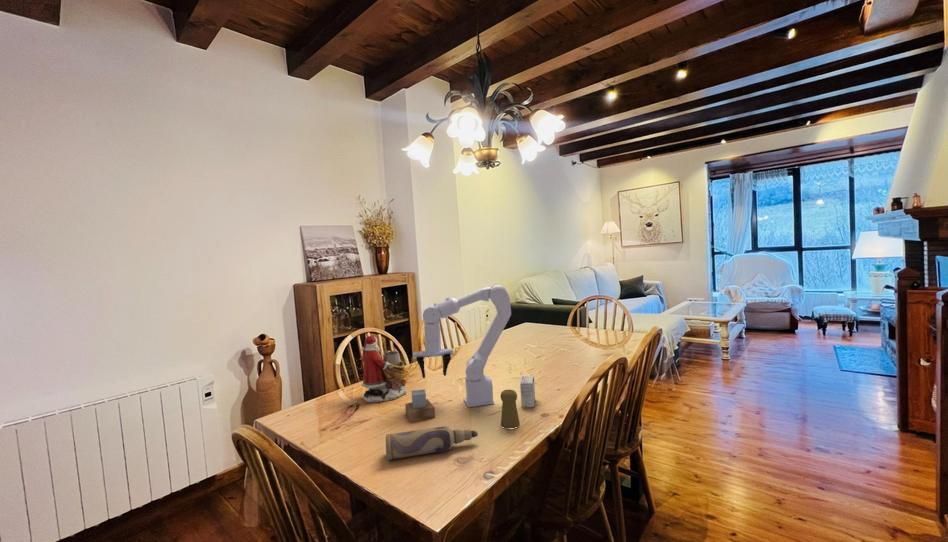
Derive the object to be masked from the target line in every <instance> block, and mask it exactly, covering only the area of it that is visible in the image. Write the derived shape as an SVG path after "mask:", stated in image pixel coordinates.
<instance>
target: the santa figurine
mask: <svg viewBox="0 0 948 542" xmlns="http://www.w3.org/2000/svg"><path fill="white" fill-rule="evenodd" d="M360 350H361V351H362V352H361V361H362V363H363V379H362V381H363V382H362V383H361V386H362V387H363V388H366V389H367V390H366V391H364V393H363V396H362V398H363V400H364V402H365V401H366V402H365V403H368V404H371V403H372V404H374V403H383V402H382V401H385V402H389V401H388V400H390V401H393V400H392V399H394V400H396V399H398V398H400V397H402V396H405V395H406V394H407V388H406V387H405V386H406V383H403V382H401V376H402V374H403V372H404V371H403V369H404V368H405V367H406V366H405V363H404V362H403V361H402V359H401V358H400V353H399V351H398V350H393V351H386V352H384V353H383V354H382V356H381V354H380V350H381V347H379V345H378V338H377V336H374V335H370V336H367V337H366V338H365V340H364V344H363V346H361V348H360ZM397 397H398V398H397Z"/></svg>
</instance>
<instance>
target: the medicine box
mask: <svg viewBox="0 0 948 542" xmlns="http://www.w3.org/2000/svg"><path fill="white" fill-rule="evenodd" d="M519 385H520V388H519V389H520V402H521V403H520V405H521V407H522V406H527V407H526V408H532V407H534V408H535V404H536V403H535V402H536V392H535V390H536V389H535V387H536V386H535V377H534V376H530V375H526V376H522V377H521V380H520V384H519ZM530 406H531V407H530Z"/></svg>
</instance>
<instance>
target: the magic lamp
mask: <svg viewBox="0 0 948 542" xmlns="http://www.w3.org/2000/svg"><path fill="white" fill-rule="evenodd" d="M410 359H411V362H410V365H409V367H408V368H404V369H403V371H404V372H403V374H402V376H401V382H403V383H404V382H406V381H407V380H405V378H406V377H408V376H410V373H411V372H412V371H414V370H415V369H416V368H417V367H418V363H417V362H416V361H415V360H416V359H413V356H411V357H410ZM413 363H414V364H415V365H416V366H415V367H414V368H412V369H411V367H413V366H412V365H413ZM410 369H411V370H410ZM409 370H410V371H409ZM406 383H407V382H406ZM404 384H405V383H404Z"/></svg>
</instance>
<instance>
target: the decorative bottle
mask: <svg viewBox="0 0 948 542" xmlns="http://www.w3.org/2000/svg"><path fill="white" fill-rule="evenodd" d="M476 437H478V431H476V430H471V429H469V428H468V429H464V430H463V429H454V430H452V429H451V428H450V427H449V426H447V425H445V426H438V427H430V428H423V429H417V430H409V431H403V432H396V433H388V434H386V435H385V453H386V459H387V461H391V460H397V459H403V458H410V457H415V456H421V455H427V454H433V453H438V454H440V453H445V451H447V452H449V451H450V450H452V448H453V447H455V446H456V445H457V444H461V443H462V442H464V441H471V440H472V438H476ZM448 450H449V451H448Z"/></svg>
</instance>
